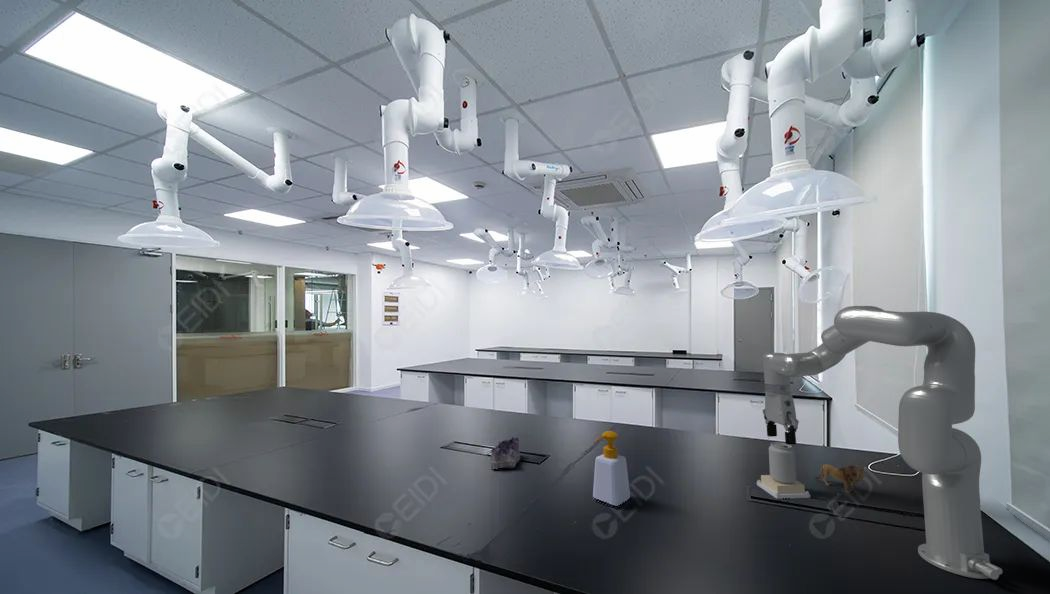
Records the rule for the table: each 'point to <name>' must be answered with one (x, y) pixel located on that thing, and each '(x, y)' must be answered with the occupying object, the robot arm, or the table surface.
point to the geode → (505, 454)
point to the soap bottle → (611, 474)
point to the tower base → (796, 495)
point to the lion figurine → (843, 475)
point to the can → (782, 463)
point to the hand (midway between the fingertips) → (781, 440)
